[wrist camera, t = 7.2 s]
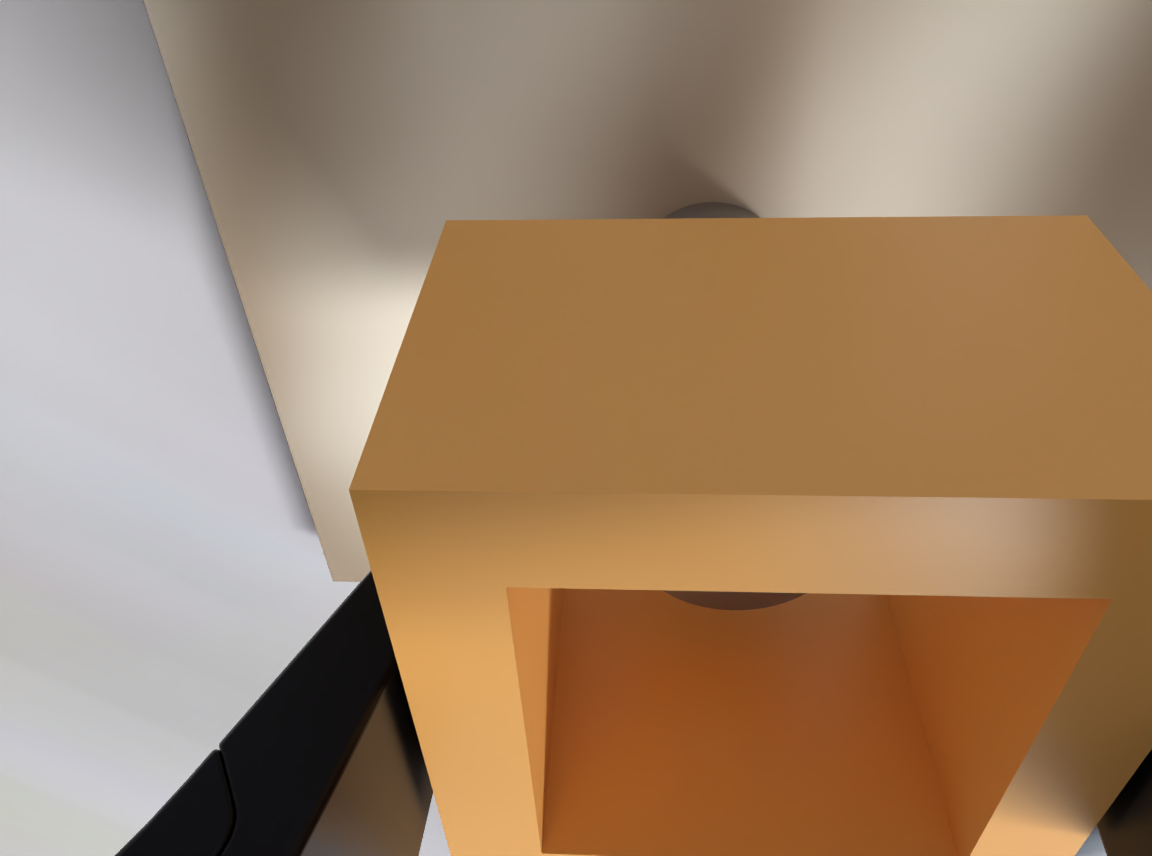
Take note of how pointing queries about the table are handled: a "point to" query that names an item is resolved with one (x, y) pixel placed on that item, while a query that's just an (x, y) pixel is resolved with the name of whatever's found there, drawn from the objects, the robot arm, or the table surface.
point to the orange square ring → (770, 534)
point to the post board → (615, 150)
